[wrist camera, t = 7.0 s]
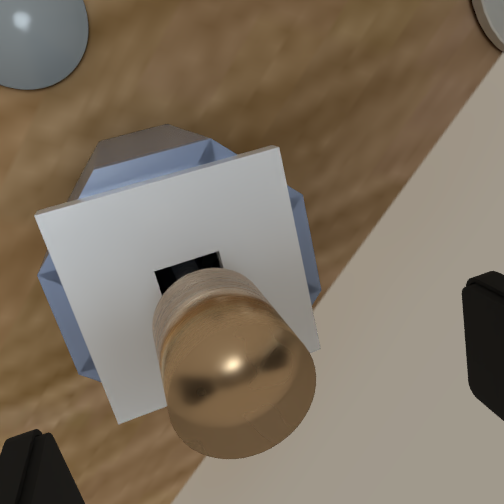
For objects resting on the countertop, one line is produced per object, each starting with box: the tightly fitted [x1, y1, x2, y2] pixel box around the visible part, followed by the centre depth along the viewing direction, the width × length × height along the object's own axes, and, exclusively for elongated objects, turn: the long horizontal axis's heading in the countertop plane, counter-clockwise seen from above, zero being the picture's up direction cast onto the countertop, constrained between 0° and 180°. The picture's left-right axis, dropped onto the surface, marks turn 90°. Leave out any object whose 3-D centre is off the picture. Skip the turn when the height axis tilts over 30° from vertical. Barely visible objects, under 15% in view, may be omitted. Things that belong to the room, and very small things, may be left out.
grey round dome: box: [0, 0, 88, 90], centre depth 25 cm, size 7×7×1 cm
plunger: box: [152, 252, 316, 459], centre depth 19 cm, size 7×7×18 cm
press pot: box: [34, 124, 321, 424], centre depth 25 cm, size 10×13×14 cm
